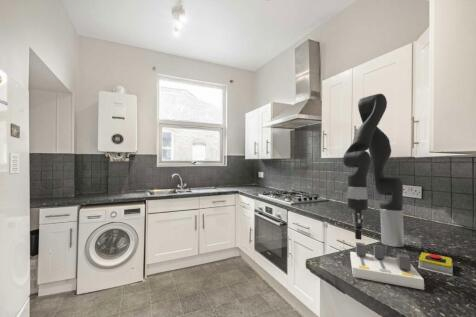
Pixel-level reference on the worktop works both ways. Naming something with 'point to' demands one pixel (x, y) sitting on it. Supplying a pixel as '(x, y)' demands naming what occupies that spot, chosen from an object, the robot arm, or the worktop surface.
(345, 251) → the worktop surface
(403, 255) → the switch
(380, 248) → the switch
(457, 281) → the worktop surface
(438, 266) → the emergency button
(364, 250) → the switch
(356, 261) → the switch panel
